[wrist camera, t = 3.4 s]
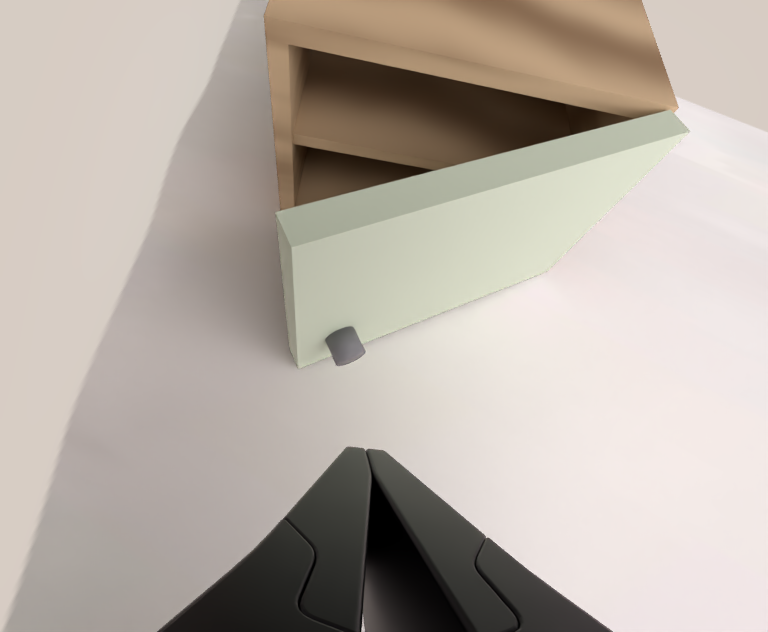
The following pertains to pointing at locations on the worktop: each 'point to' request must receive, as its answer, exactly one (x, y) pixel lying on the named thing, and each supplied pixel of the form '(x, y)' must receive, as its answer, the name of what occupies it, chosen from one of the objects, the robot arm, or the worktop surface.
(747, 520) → the worktop surface
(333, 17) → the cabinet
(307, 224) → the door
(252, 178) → the worktop surface
